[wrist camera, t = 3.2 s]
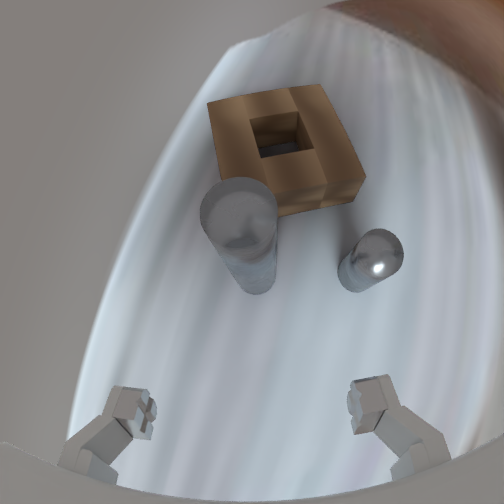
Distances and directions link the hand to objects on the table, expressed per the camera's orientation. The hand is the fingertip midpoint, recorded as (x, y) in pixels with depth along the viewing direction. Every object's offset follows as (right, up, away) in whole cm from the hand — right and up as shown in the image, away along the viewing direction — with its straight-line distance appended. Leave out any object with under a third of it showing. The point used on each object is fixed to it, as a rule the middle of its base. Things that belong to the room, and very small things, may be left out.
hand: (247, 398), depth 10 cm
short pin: (+10, +4, +15) cm, 19 cm away
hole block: (+3, +15, +19) cm, 25 cm away
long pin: (0, +4, +16) cm, 16 cm away
